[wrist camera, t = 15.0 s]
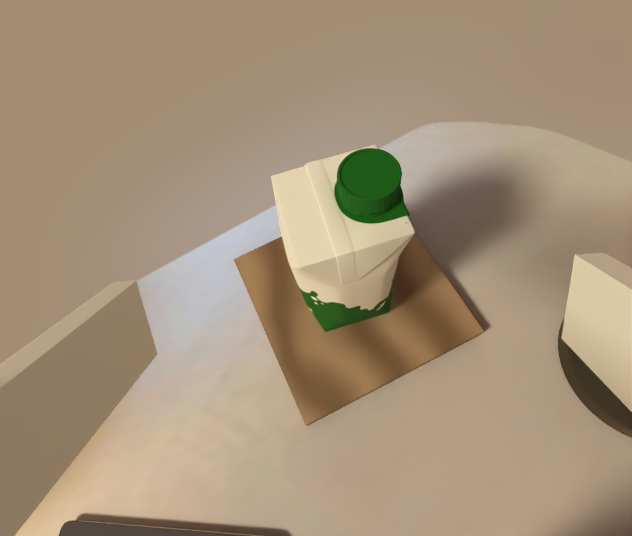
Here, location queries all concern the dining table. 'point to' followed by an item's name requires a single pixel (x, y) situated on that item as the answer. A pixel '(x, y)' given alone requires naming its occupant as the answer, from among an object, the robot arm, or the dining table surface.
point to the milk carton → (344, 233)
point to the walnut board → (355, 329)
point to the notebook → (131, 530)
